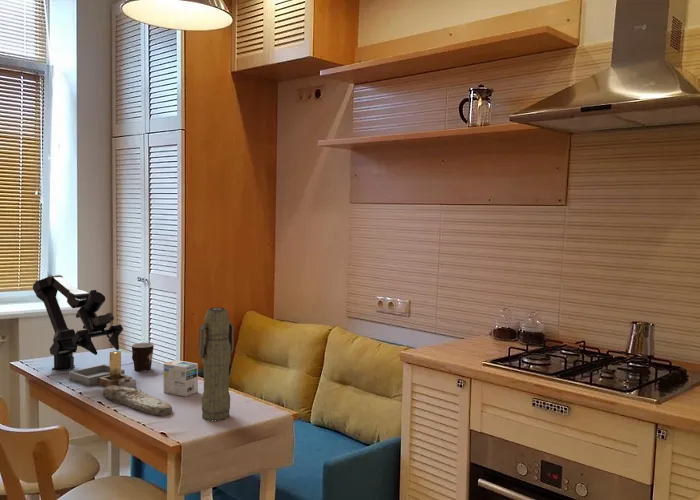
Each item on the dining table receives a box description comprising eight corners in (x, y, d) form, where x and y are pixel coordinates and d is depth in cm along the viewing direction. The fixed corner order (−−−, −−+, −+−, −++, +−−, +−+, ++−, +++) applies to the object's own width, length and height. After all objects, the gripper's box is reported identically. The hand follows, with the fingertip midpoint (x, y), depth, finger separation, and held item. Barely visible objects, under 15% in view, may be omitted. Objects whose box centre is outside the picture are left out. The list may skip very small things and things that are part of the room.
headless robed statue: (239, 415, 201) (240, 308, 199) (210, 424, 192) (211, 312, 190) (221, 409, 207) (222, 305, 204) (192, 417, 198) (193, 309, 195)
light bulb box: (198, 392, 225) (198, 362, 224) (186, 397, 218) (186, 367, 218) (175, 387, 229) (175, 359, 228) (162, 392, 223) (162, 363, 222)
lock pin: (107, 385, 230) (107, 353, 229) (112, 382, 234) (112, 350, 233) (118, 385, 229) (118, 353, 229) (122, 382, 233) (122, 351, 233)
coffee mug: (145, 365, 259) (145, 341, 258) (158, 369, 254) (158, 344, 253) (120, 370, 250) (120, 346, 249) (133, 374, 245) (133, 349, 244)
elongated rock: (154, 424, 195) (179, 417, 203) (155, 407, 195) (181, 402, 203) (93, 395, 216) (119, 390, 224) (94, 380, 216) (120, 376, 224)
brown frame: (98, 384, 231) (98, 375, 230) (118, 379, 237) (118, 371, 237) (122, 391, 222) (122, 383, 222) (142, 386, 229) (142, 378, 229)
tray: (69, 379, 236) (69, 371, 235) (104, 371, 248) (104, 364, 248) (89, 385, 228) (89, 377, 228) (124, 377, 241) (124, 369, 240)
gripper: (76, 309, 228) (93, 343, 222) (120, 303, 243) (138, 335, 238) (64, 328, 233) (81, 361, 227) (108, 321, 248) (125, 352, 243)
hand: (107, 352), depth 234 cm, fingers open, 9 cm apart
